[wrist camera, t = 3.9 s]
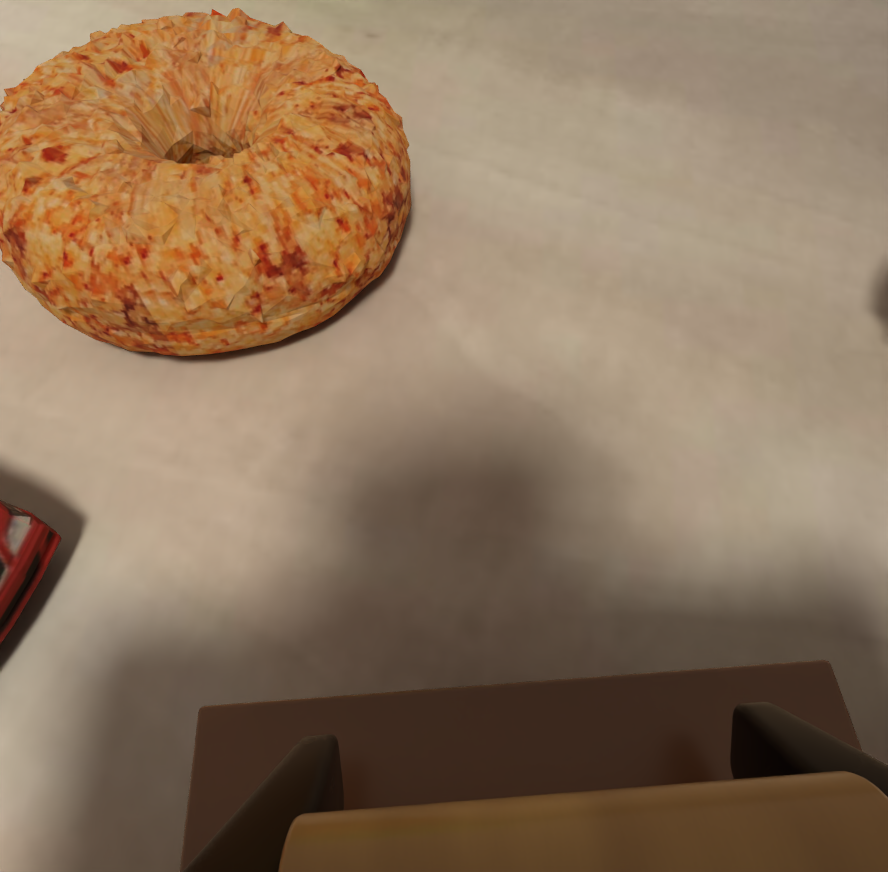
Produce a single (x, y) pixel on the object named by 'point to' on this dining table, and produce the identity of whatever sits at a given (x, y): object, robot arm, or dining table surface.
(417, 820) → the lid
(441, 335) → the dining table surface
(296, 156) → the bagel
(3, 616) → the toy car
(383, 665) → the dining table surface
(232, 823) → the robot arm
